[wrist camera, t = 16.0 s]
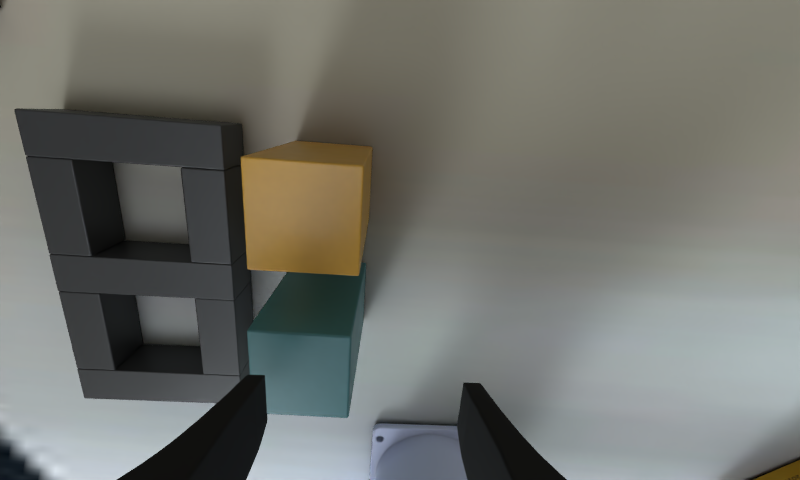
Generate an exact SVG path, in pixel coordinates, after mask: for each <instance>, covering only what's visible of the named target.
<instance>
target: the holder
mask: <svg viewBox="0 0 800 480" xmlns="http://www.w3.org/2000/svg"><path fill="white" fill-rule="evenodd" d="M15 115H16V119H17V123H18V127H19V131H20V135H21V139H22V143H23V147H24V151H25V155H27V157H26V159H27V164H28V168H29V172H30V176H31V180H32V184H33V188H34V192H35V196H36V200H37V205H38V209H39V213H40V217H41V221H42V225H43V229H44V233H45V237H46V241H47V246H48V250H49V253H50V259H51V263H52V267H53V271H54V276H55V280H56V284H57V288H58V291H59V295H60V299H61V303H62V307H63V311H64V315H65V319H66V323H67V328H68V332H69V336H70V340H71V344H72V348H73V352H74V356H75V360H76V364H77V368H78V374H79V378H80V382H81V386H82V390H83V394H84V398H94V399H120V400H147V401H174V402H200V403H218V402H219V401H220V400H221V399H222V398H223V397H224V396H225V395H226V394H227V393H228V392H229V391H230V390H232V389H233V388H234V387H235V386H236V385H237V384H238V383H239V382H240V381H241V380H242V379H243V378H244V377H245V376H246V375H250V370H249V355H248V339H247V330H248V328H249V327H250V325H251V324H252V322H253V307H252V290H251V281H250V280H251V273H250V270H248V269H247V256H246V239H245V223H244V206H243V190H242V174H241V157H242V156H244V153H243V136H242V124H240V123H227V122H215V121H202V120H190V119H177V118H165V117H152V116H140V115H127V114H115V113H102V112H89V111H77V110H64V109H15ZM112 162H119V163H132V164H146V165H160V166H174V167H182V168H181V175H182V184H183V193H184V202H185V211H186V220H187V229H188V238H189V245H188V244H172V243H155V242H139V241H124V240H125V236H124V230H123V224H122V218H121V212H120V207H119V201H118V195H117V189H116V183H115V177H114V172H113V166H112ZM135 295H143V296H162V297H181V298H195V303H196V312H197V321H198V330H199V339H200V347H196V346H174V345H152V344H143V341H142V335H141V329H140V324H139V318H138V312H137V306H136V300H135Z"/></svg>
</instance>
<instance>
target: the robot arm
mask: <svg viewBox="0 0 800 480" xmlns="http://www.w3.org/2000/svg"><path fill="white" fill-rule="evenodd" d="M266 424H267V404H266V386H265V375H246V376H245V377H244V378H243V379H242V380H241V381H240V382H239V383H238V384H237V385H236V386H235V387H234V388H233V389H232V390H230V391H229V392H228V393H227V394H226V395H225V396H224V397H223V398H222V399H221V400H220V401H219V402H218V403H217V404H216V405H214V406H213V407H212V408H211V409H210V410H209V411H208V412H207V413H206V414H205V415H203V416H202V417H201V418H200V419H199V420H198V421H197V422H195V423H194V424H193V425H192V426H191V427H189V428H188V429H187V430H186V431H185V432H183V433H182V434H181V435H180V436H179V437H177V438H176V439H175V440H174V441H172V442H171V443H170V444H168V445H167V446H166V447H164V448H163V449H162V450H160V451H159V452H158V453H156V454H155V455H153V456H152V457H151V458H149V459H148V460H146V461H145V462H144V463H142V464H141V465H139V466H137V467H136V468H134V469H133V470H131V471H130V472H128V473H127V474H125V475H123V476H122V477H120V478H119V479H117V480H246V479H247V476H248V474H249V472H250V469H251V467H252V464H253V462H254V460H255V457H256V455H257V453H258V450H259V447H260V444H261V441H262V437H263V434H264V430H265V427H266ZM378 436H382V437H378ZM369 480H567V479H565V478H564V477H563V476H562V475H561V474H560V473H559V472H558V471H557V470H555V469H554V468H553V467H552V466H551V465H550V464H549V463H548V462H547V461H546V460H545V459H544V458H543V457H542V456H541V455H540V454H539V453H538V452H537V451H536V450H535V449H534V448H533V447H532V446H531V445H530V444H529V443H528V442H527V440H526V439H525V438H524V437H523V436H522V435H521V434H520V433H519V431H518V430H517V429H516V428H515V427H514V426H513V424H512V423H511V422H510V421H509V420H508V418H507V417H506V416H505V415H504V413H503V412H502V411H501V410H500V408H499V407H498V406H497V404H496V403H495V402H494V401H493V399H492V398H491V397H490V395H489V394H488V393H487V391H486V390H485V389H484V387H483V386H482V385H481V384H480V383H464V384H463V391H462V397H461V404H460V410H459V417H458V423H457V426H441V425H413V424H384V423H380V424H376V425H375V426H374V427H373V435H372V449H371V463H370V478H369Z"/></svg>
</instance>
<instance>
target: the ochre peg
mask: <svg viewBox="0 0 800 480" xmlns="http://www.w3.org/2000/svg"><path fill="white" fill-rule="evenodd" d="M372 151H373V148H372V147H371V146H358V145H345V144H332V143H319V142H306V141H294V142H290V143H287V144H283V145H280V146H276V147H273V148H269V149H266V150H262V151H259V152H255V153H252V154H248V155H245V156H242V157H241V174H242V190H243V206H244V223H245V239H246V256H247V269H248V270H263V271H280V272H298V273H315V274H333V275H350V276H359V273H360V268H361V262H362V256H363V250H364V245H365V239H366V233H367V228H368V222H369V208H370V189H371V170H372Z"/></svg>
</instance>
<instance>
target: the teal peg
mask: <svg viewBox="0 0 800 480" xmlns="http://www.w3.org/2000/svg"><path fill="white" fill-rule="evenodd" d="M365 278H366V263H361V268H360V273H359V276H350V275H333V274H315V273H298V272H287V273H286V275H285V276H284V278H283V279H282V280H281V282H280V283H279V285H278V286H277V288H276V289H275V291H274V292H273V294H272V295H271V296H270V298H269V299H268V301H267V302H266V304H265V305H264V307H263V308H262V309H261V311H260V312H259V314H258V315H257V317H256V318H255V320H254V321H253V322H252V324H251V325H250V327H249V328H248V330H247V339H248V355H249V370H250V375H265V386H266V404H267V414H281V415H300V416H319V417H339V418H347V417H348V416H349V410H350V404H351V398H352V391H353V385H354V378H355V372H356V365H357V359H358V353H359V346H360V340H361V333H362V327H363V317H364V298H365Z"/></svg>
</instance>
